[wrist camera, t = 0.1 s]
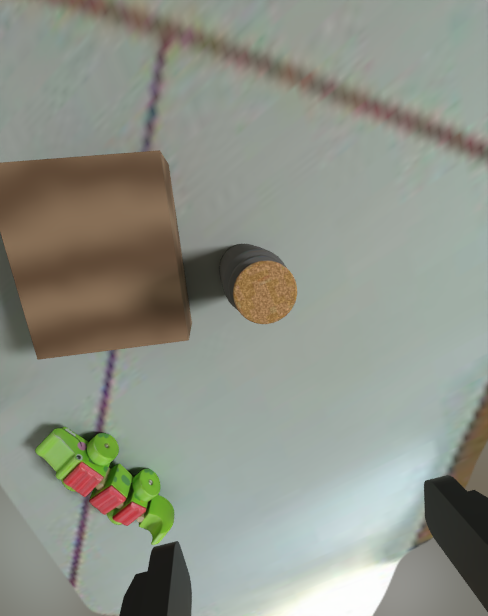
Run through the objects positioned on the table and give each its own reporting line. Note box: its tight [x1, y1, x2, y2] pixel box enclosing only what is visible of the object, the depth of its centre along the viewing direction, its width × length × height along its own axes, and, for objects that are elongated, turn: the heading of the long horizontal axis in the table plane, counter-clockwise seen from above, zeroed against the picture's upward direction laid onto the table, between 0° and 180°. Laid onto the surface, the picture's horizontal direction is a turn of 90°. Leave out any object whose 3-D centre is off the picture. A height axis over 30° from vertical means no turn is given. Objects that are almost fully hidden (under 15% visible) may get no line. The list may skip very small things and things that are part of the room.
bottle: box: [219, 244, 297, 324], centre depth 29 cm, size 6×6×15 cm
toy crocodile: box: [35, 427, 174, 545], centre depth 38 cm, size 20×7×6 cm, turn 40°
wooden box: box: [0, 151, 192, 359], centre depth 32 cm, size 18×15×6 cm
